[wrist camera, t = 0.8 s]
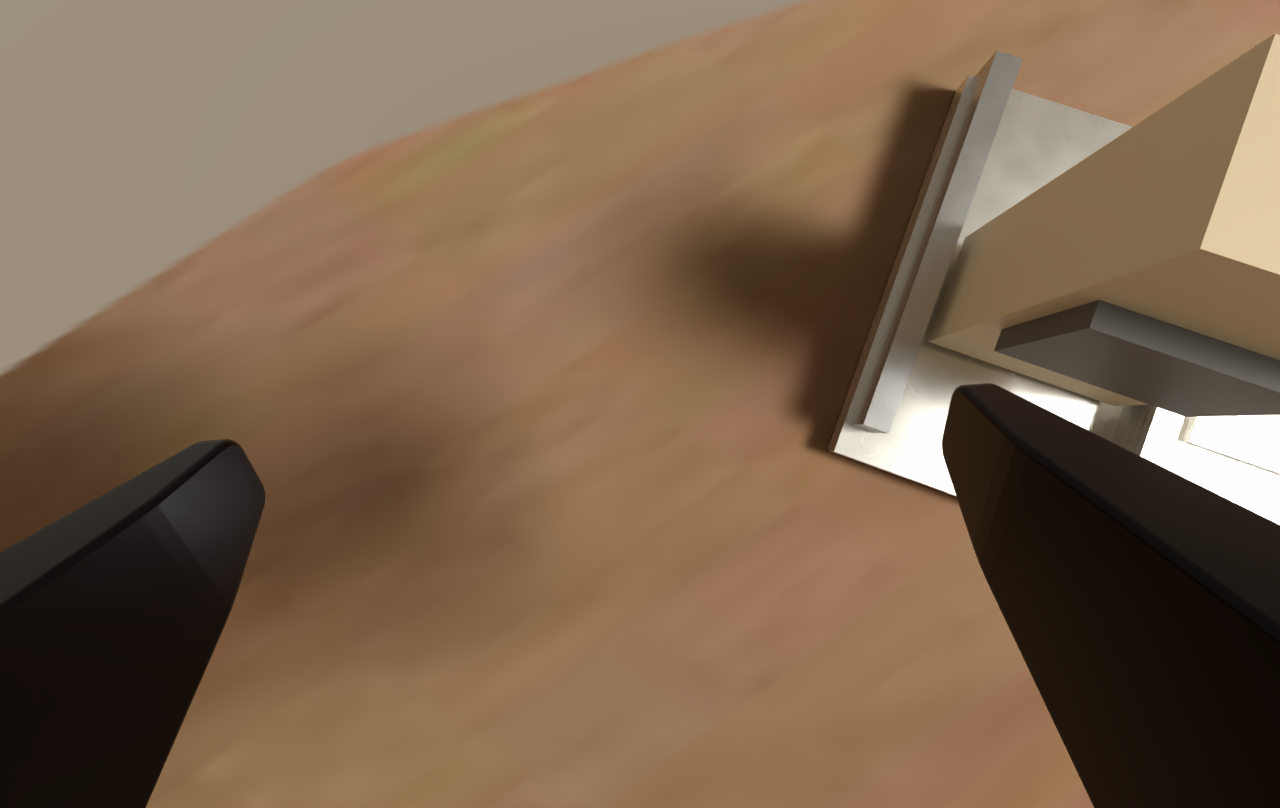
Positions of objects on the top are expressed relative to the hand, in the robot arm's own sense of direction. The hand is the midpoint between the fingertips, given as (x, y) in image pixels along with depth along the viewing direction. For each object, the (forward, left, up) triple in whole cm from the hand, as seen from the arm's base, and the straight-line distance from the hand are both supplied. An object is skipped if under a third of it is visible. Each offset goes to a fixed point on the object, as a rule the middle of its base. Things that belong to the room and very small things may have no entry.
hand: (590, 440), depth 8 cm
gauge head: (-11, -10, -13) cm, 20 cm away
